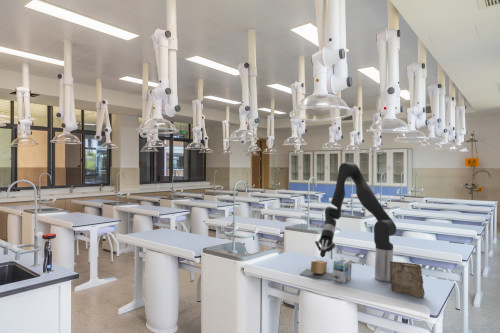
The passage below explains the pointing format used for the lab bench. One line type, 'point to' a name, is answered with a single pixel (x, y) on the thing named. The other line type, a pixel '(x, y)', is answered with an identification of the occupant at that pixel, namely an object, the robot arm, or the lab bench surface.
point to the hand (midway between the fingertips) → (322, 256)
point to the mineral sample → (406, 279)
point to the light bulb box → (342, 270)
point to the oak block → (318, 266)
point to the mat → (317, 274)
